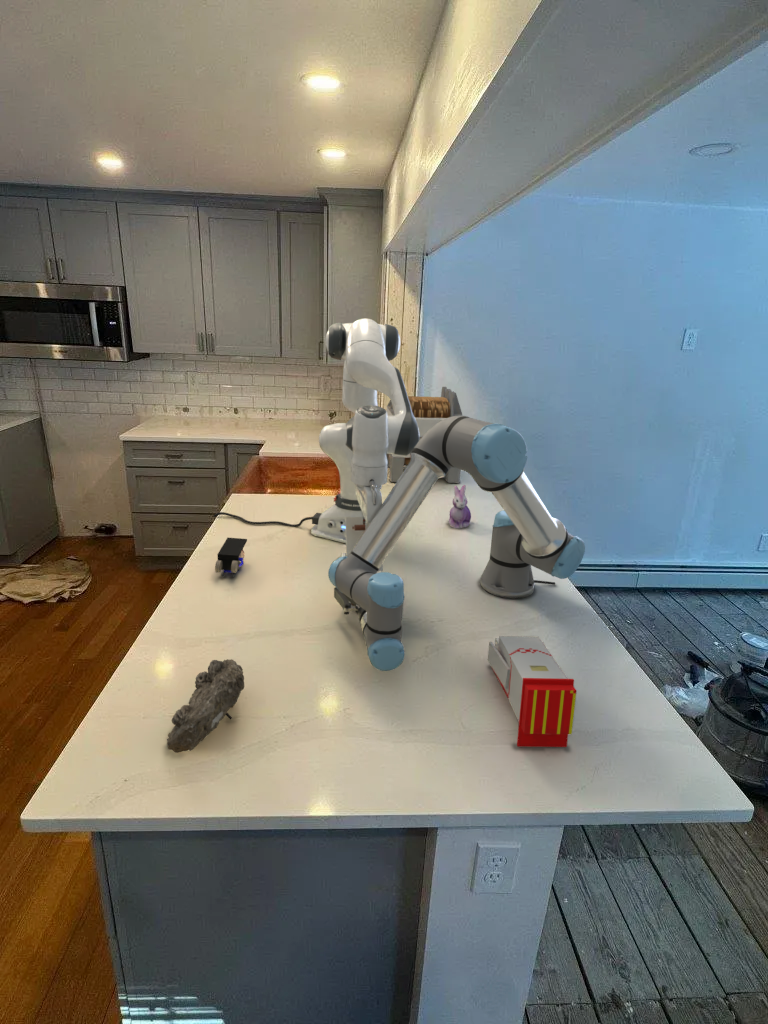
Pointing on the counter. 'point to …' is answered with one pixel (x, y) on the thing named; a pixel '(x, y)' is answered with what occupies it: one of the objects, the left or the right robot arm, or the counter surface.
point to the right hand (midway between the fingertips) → (362, 577)
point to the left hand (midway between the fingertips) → (367, 527)
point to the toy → (534, 690)
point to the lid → (354, 533)
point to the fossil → (206, 705)
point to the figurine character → (230, 556)
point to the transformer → (426, 427)
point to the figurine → (459, 509)
